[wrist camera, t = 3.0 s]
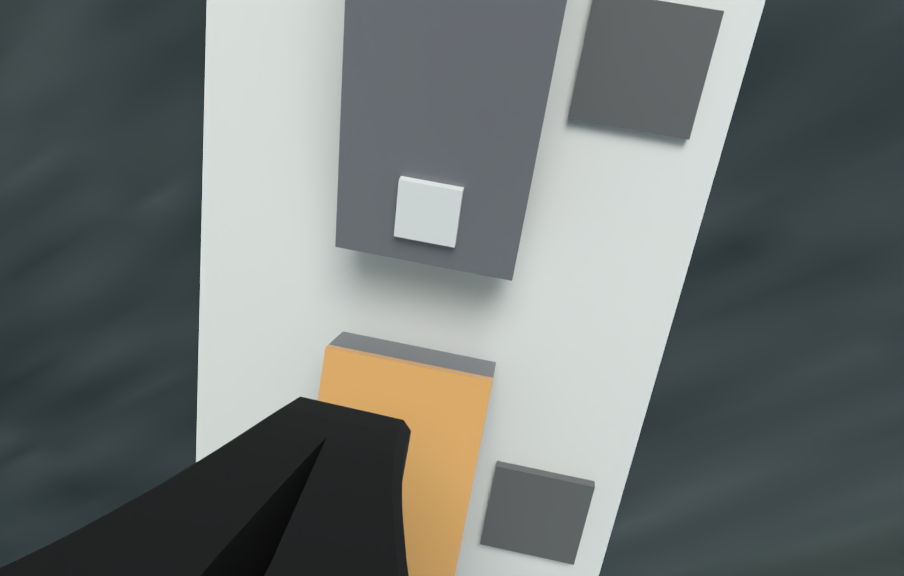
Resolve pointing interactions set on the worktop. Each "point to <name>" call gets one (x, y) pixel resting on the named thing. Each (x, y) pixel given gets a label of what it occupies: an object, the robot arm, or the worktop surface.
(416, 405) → the orange flat bar
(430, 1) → the grey block
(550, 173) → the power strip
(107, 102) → the worktop surface
